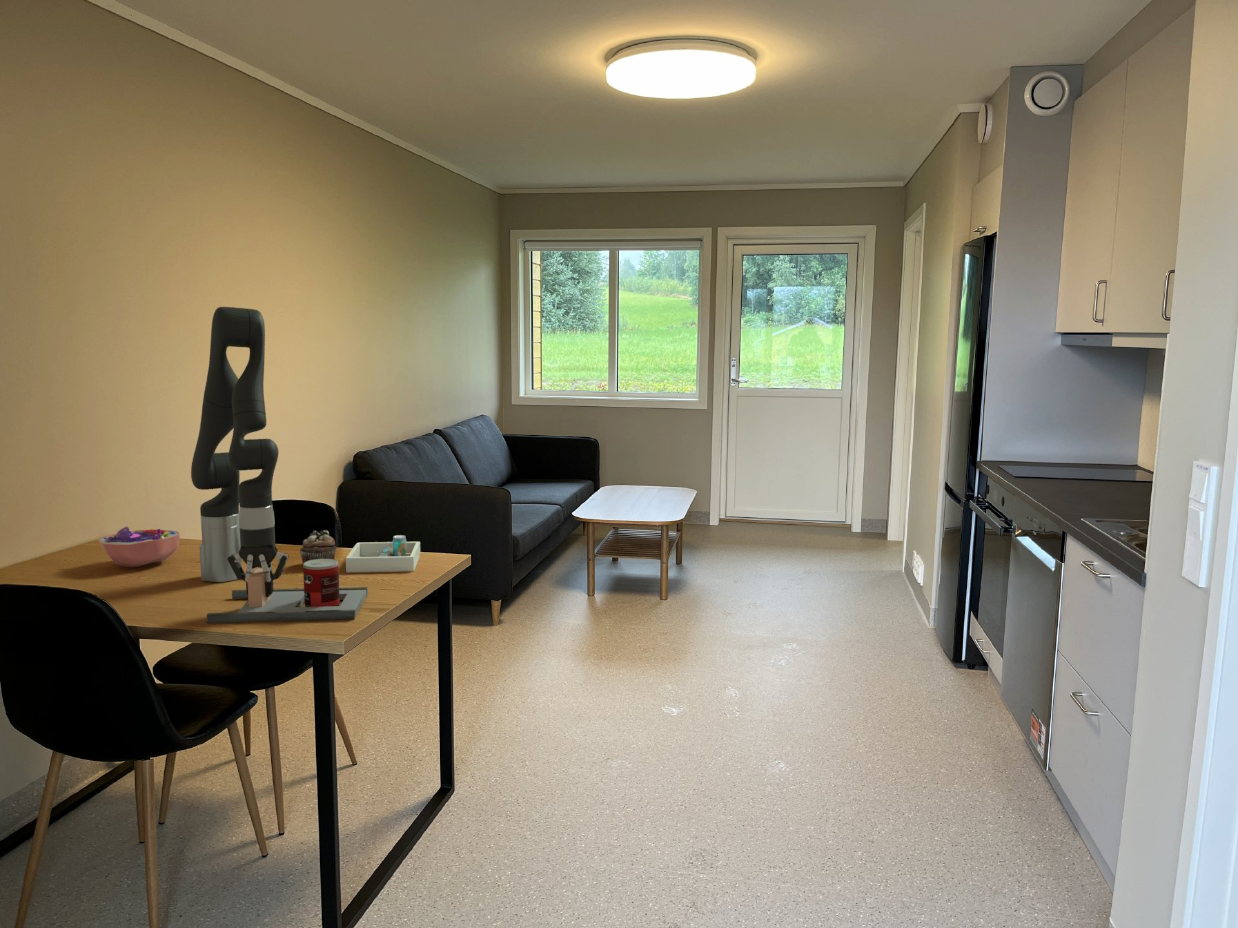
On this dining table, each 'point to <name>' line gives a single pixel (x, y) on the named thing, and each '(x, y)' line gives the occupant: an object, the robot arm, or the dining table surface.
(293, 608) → the grey piece
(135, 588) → the dining table surface
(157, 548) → the cell model
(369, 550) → the white shallow tray
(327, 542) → the cupcake
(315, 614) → the guide rails
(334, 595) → the canned food
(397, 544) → the beverage can
